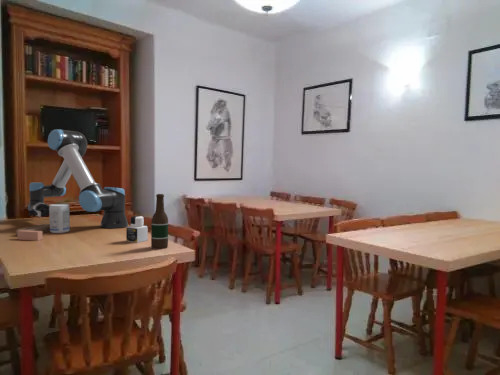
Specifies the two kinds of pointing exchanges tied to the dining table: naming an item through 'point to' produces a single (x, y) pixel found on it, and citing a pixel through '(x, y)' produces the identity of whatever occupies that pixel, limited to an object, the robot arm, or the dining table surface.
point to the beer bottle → (159, 225)
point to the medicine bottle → (137, 230)
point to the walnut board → (37, 228)
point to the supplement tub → (59, 218)
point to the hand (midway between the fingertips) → (53, 213)
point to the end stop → (29, 235)
